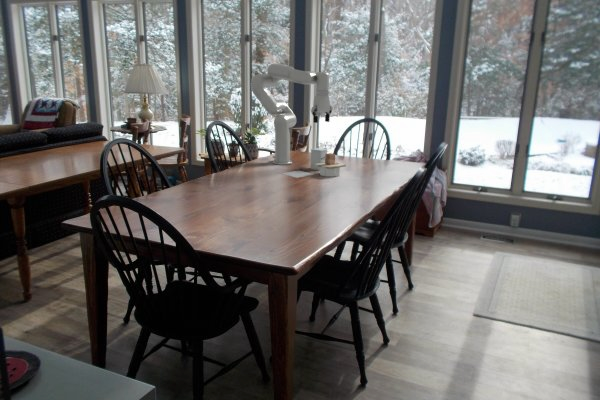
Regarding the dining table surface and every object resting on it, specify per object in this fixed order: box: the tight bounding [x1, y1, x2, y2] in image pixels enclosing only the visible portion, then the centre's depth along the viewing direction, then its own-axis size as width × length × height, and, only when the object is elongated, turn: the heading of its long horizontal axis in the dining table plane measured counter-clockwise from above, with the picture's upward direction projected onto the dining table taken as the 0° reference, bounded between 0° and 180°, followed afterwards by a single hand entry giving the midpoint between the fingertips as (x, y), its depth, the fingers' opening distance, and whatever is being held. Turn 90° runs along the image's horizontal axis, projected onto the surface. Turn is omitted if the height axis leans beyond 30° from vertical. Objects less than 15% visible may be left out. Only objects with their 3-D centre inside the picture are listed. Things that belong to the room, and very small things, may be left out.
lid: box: [314, 152, 347, 169], centre depth 287 cm, size 13×13×7 cm
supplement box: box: [310, 147, 328, 171], centre depth 303 cm, size 7×7×13 cm
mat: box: [280, 170, 315, 179], centre depth 289 cm, size 14×14×1 cm
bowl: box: [319, 167, 341, 178], centre depth 288 cm, size 11×11×6 cm
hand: (321, 122), depth 302 cm, fingers open, 9 cm apart
